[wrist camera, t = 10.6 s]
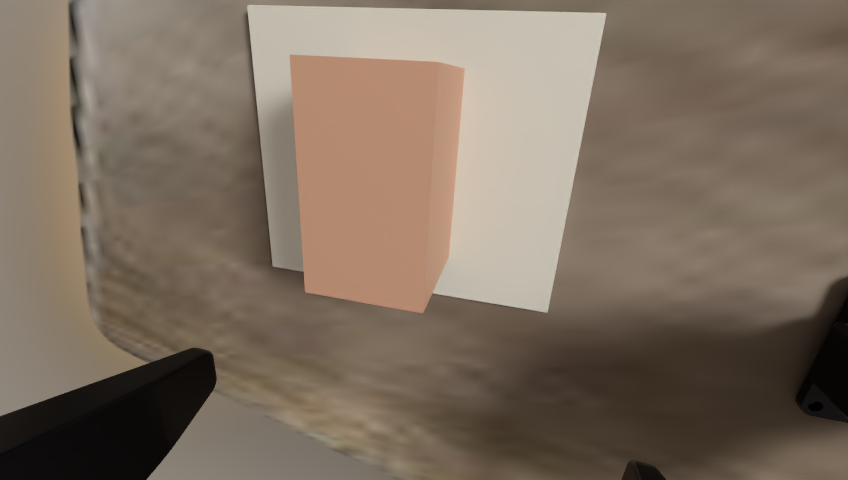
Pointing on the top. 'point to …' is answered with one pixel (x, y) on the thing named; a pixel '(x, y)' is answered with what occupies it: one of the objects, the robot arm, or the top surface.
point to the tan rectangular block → (375, 175)
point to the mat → (479, 128)
